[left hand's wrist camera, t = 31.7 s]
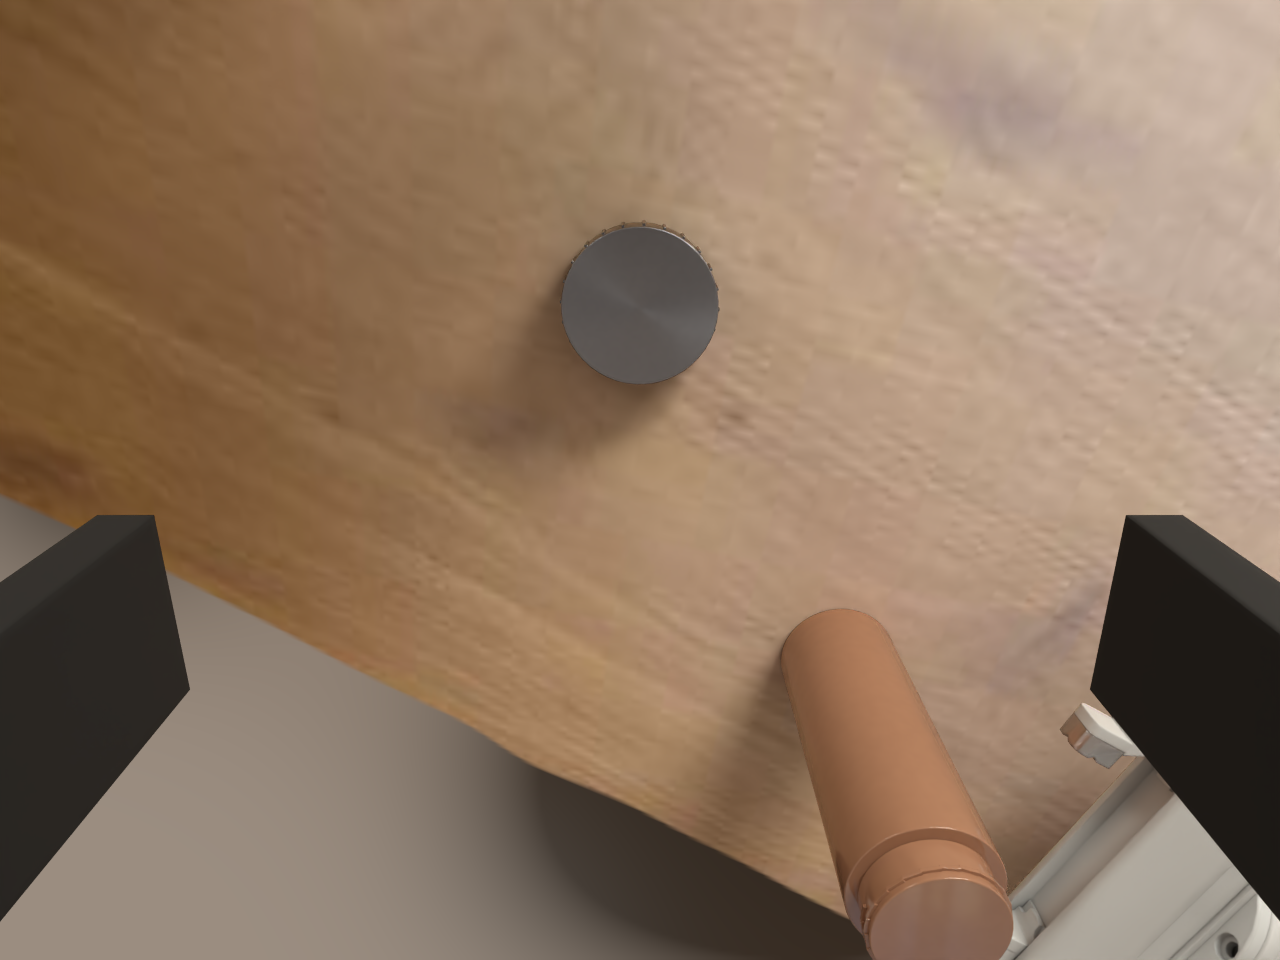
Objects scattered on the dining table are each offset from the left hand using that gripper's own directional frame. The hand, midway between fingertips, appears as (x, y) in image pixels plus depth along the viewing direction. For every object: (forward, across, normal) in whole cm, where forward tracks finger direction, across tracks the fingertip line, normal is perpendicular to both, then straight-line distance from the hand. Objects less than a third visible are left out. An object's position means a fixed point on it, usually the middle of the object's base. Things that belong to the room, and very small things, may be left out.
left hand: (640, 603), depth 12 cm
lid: (+25, 0, 0) cm, 25 cm away
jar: (+27, +10, -18) cm, 33 cm away
